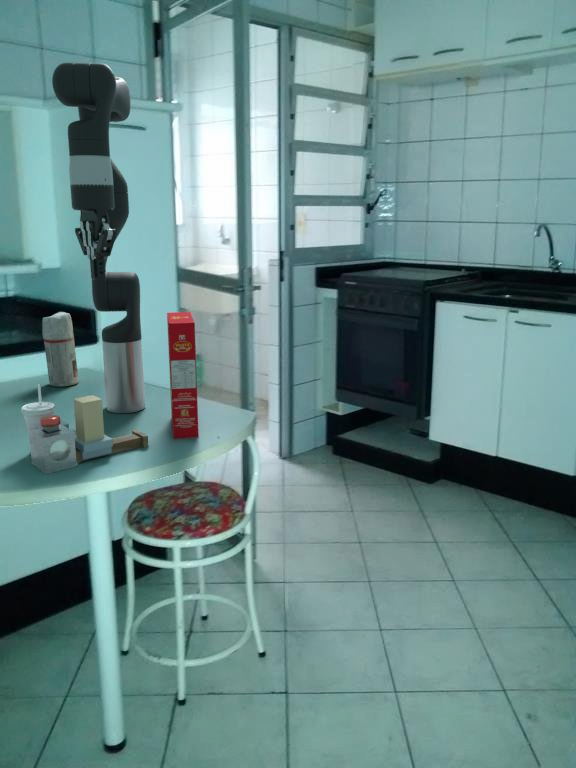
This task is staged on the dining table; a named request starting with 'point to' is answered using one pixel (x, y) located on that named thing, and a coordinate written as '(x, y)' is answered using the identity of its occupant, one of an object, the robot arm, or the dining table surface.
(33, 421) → the smoothie
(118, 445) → the rail
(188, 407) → the food packaging
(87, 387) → the dining table surface
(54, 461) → the gauge cabinet
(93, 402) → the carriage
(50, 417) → the gauge button
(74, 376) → the spray can
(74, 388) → the dining table surface
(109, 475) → the dining table surface
